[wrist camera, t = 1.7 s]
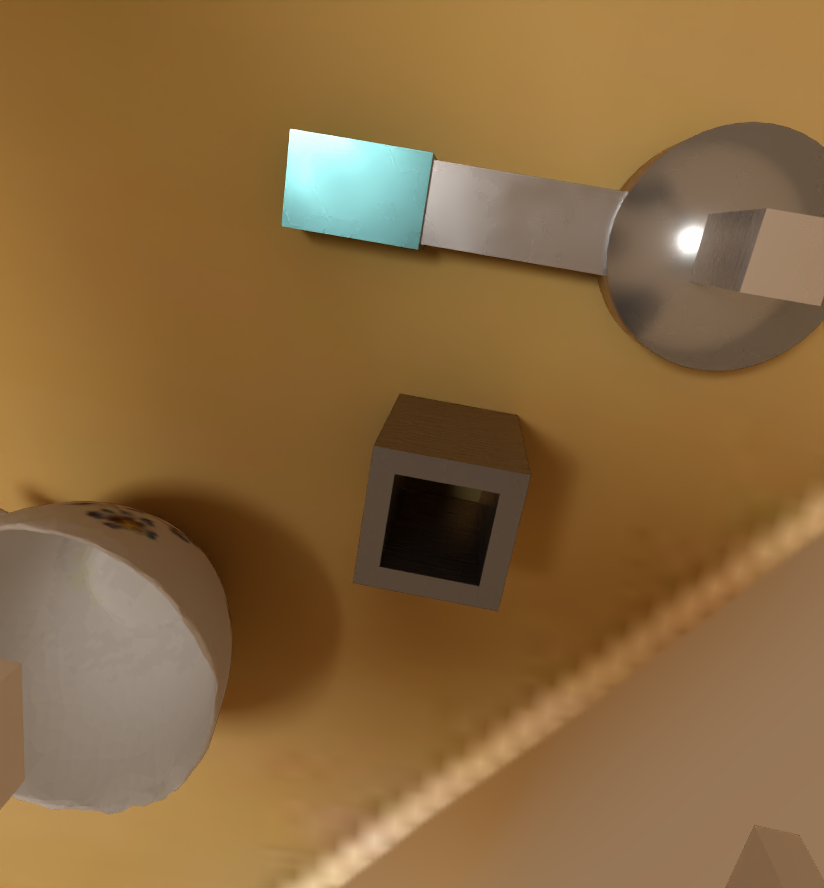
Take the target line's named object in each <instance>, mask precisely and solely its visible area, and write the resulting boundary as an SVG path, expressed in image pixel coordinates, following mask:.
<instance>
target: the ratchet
mask: <svg viewBox="0 0 824 888" xmlns="http://www.w3.org/2000/svg"><path fill="white" fill-rule="evenodd" d="M282 226H284V227H290V228H296V229H301V230H307V231H313V232H319V233H325V234H330V235H336V236H342V237H348V238H354V239H359V240H365V241H371V242H377V243H382V244H388V245H394V246H400V247H406V248H411V249H417V250H419V249H423V246H424V245H429V246H435V247H441V248H447V249H453V250H458V251H464V252H470V253H476V254H482V255H487V256H493V257H499V258H505V259H511V260H516V261H522V262H528V263H534V264H540V265H545V266H551V267H557V268H563V269H569V270H574V271H580V272H586V273H592V274H597V277H598V282H599V287H600V291H601V294H602V296H603V299H604V302H605V304H606V306H607V308H608V310H609V312H610V313H611V315H612V316H613V318H614V319H615V321H616V322H617V323H618V325H619V326H620V327H621V328H622V329H623V330H624V331H625V332H626V333H627V334H628V335H629V336H631V337H632V338H633V339H635V340H636V341H637V342H639V343H640V344H642V345H643V346H645V347H646V348H648V349H649V350H651V351H652V352H654V353H655V354H657V355H659V356H661V357H662V358H664V359H666V360H668V361H670V362H673V363H676V364H678V365H681V366H685V367H689V368H693V369H699V370H707V371H726V370H733V369H741V368H745V367H749V366H753V365H756V364H759V363H762V362H764V361H767V360H769V359H772V358H774V357H776V356H778V355H780V354H782V353H784V352H785V351H787V350H789V349H790V348H792V347H793V346H795V345H796V344H798V343H799V342H801V341H802V340H803V339H804V338H805V337H807V336H808V335H809V334H810V333H811V332H812V331H814V330H815V329H816V327H817V326H818V325H819V324H820V323H821V322H822V321H823V320H824V147H823V146H822V145H820V144H819V143H818V142H817V141H815V140H813V139H812V138H810V137H808V136H807V135H805V134H803V133H801V132H798V131H796V130H793V129H791V128H788V127H784V126H780V125H776V124H771V123H760V122H747V123H735V124H730V125H724V126H720V127H717V128H714V129H710V130H707V131H704V132H702V133H700V134H698V135H695V136H693V137H691V138H689V139H687V140H685V141H683V142H680V143H678V144H676V145H674V146H672V147H670V148H668V149H666V150H664V151H662V152H661V153H659V154H658V155H656V156H654V157H653V158H651V159H650V160H649V161H648V162H646V163H645V164H644V165H643V166H641V167H640V168H639V169H638V170H637V171H636V172H635V173H634V174H633V175H632V176H631V177H630V178H629V179H628V181H627V182H626V183H625V184H624V186H623V187H622V188H621V190H620V191H618V190H612V189H606V188H600V187H594V186H588V185H582V184H576V183H570V182H564V181H558V180H552V179H546V178H540V177H534V176H528V175H522V174H516V173H510V172H504V171H498V170H492V169H486V168H480V167H474V166H468V165H462V164H456V163H450V162H444V161H438V160H437V159H436V157H435V155H434V153H433V152H427V151H421V150H414V149H408V148H402V147H396V146H390V145H384V144H378V143H372V142H366V141H360V140H354V139H348V138H342V137H336V136H330V135H324V134H318V133H312V132H306V131H300V130H294V129H290V136H289V148H288V159H287V170H286V181H285V192H284V204H283V215H282Z"/></svg>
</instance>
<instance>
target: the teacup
mask: <svg viewBox="0 0 824 888" xmlns="http://www.w3.org/2000/svg"><path fill="white" fill-rule="evenodd" d="M231 654H232V626H231V616H230V611H229V607H228V602H227V598H226V594H225V592H224V589H223V586H222V584H221V581H220V579H219V577H218V575H217V573H216V571H215V569H214V567H213V566H212V564H211V562H210V561H209V559H208V558H207V556H206V555H205V554H204V553H203V551H202V550H201V549H200V548H199V547H198V546H197V545H196V544H195V543H194V542H193V541H192V540H191V539H190V538H189V537H188V536H187V535H185V534H184V533H183V532H182V531H180V530H179V529H178V528H176V527H175V526H173V525H172V524H170V523H168V522H167V521H165V520H163V519H161V518H159V517H156V516H154V515H152V514H150V513H147V512H144V511H141V510H138V509H135V508H131V507H127V506H122V505H117V504H112V503H103V502H92V501H73V502H61V503H52V504H45V505H40V506H35V507H30V508H25V509H21V510H17V511H14V512H10V513H9V512H6V511H4V510H3V509H0V659H5V660H9V661H14V662H18V663H22V697H23V730H24V764H25V781H24V782H23V783H22V784H21V786H20V787H19V788H18V789H17V790H16V792H15V793H14V794H13V795H12V796H11V797H14V798H16V799H18V800H21V801H27V802H31V803H33V804H38V805H41V806H43V807H46V808H48V809H54V810H61V809H75V810H92V811H99V812H103V813H106V814H113V813H118V812H122V811H124V810H126V809H127V808H129V807H131V806H133V805H134V806H146V805H148V804H150V803H152V802H154V801H160V800H163V799H165V798H166V797H167V796H168V795H169V794H170V793H171V792H172V791H176V790H177V789H178V788H179V787H180V786H181V785H182V784H183V783H184V782H185V781H186V779H187V778H188V776H189V775H190V774H191V773H192V771H193V770H194V769H195V768H196V766H197V765H198V764H199V763H200V761H201V760H202V758H203V756H204V755H205V753H206V751H207V750H208V748H209V745H210V742H211V739H212V736H213V733H214V729H215V726H216V722H217V719H218V715H219V712H220V709H221V705H222V702H223V698H224V695H225V691H226V687H227V683H228V677H229V671H230V665H231Z"/></svg>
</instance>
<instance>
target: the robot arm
mask: <svg viewBox="0 0 824 888" xmlns="http://www.w3.org/2000/svg"><path fill="white" fill-rule="evenodd" d="M24 781H25V764H24V730H23V697H22V663H18V662H14V661H9V660H5V659H0V809H1V808H2V807H3V806H4V805H5V803H6V802H7V801H8V800H9V799H10V797H11V796H12V795H13V794H14V793H15V792H16V790H17V789H18V788H19V787H20V786H21V784H22V783H23V782H24ZM725 888H824V880H823V878H822V876H821V874H820V872H819V870H818V869H817V867H816V865H815V863H814V861H813V859H812V858H811V856H810V854H809V852H808V850H807V848H806V846H805V844H804V843H803V841H802V839H801V837H800V835H797V834H792V833H788V832H783V831H779V830H774V829H770V828H765V827H761V826H756V825H754V827H753V829H752V832H751V833H750V836H749V838H748V840H747V842H746V844H745V846H744V849H743V851H742V853H741V855H740V857H739V859H738V862H737V864H736V866H735V868H734V870H733V872H732V874H731V876H730V879H729V881H728V883H727V885H726V887H725Z"/></svg>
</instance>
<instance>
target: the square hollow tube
mask: <svg viewBox="0 0 824 888" xmlns="http://www.w3.org/2000/svg"><path fill="white" fill-rule="evenodd" d="M405 476H409V477H414V478H419V479H424V480H430V481H435V482H440V483H446V484H451V485H456V486H461V487H467V488H472V489H477V490H482V492H481V497H480V501H479V503H477V502H472V501H466V500H461V499H456V498H451V497H445V496H440V495H435V494H430V493H424V492H419V491H414V490H409V489H403V485H404V480H405ZM530 476H531V474H530V470H529V465H528V460H527V456H526V451H525V447H524V442H523V437H522V433H521V428H520V423H519V419H518V415H513V414H508V413H502V412H497V411H491V410H486V409H480V408H475V407H469V406H464V405H459V404H453V403H448V402H442V401H437V400H431V399H426V398H420V397H415V396H409V395H404V394H399V396H398V398H397V400H396V402H395V404H394V406H393V408H392V410H391V412H390V414H389V416H388V418H387V420H386V422H385V424H384V426H383V428H382V430H381V432H380V434H379V436H378V438H377V440H376V442H375V444H374V446H373V453H372V460H371V466H370V473H369V479H368V486H367V493H366V499H365V506H364V513H363V519H362V526H361V533H360V539H359V546H358V553H357V559H356V566H355V573H354V579H353V583H357V584H362V585H367V586H372V587H377V588H382V589H387V590H392V591H397V592H403V593H408V594H413V595H418V596H423V597H428V598H433V599H438V600H443V601H448V602H453V603H458V604H463V605H468V606H473V607H479V608H484V609H489V610H494V611H498V609H499V605H500V601H501V597H502V593H503V589H504V584H505V580H506V576H507V572H508V568H509V564H510V559H511V555H512V551H513V547H514V543H515V539H516V534H517V530H518V526H519V522H520V518H521V514H522V509H523V505H524V501H525V497H526V493H527V489H528V484H529V480H530Z"/></svg>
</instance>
